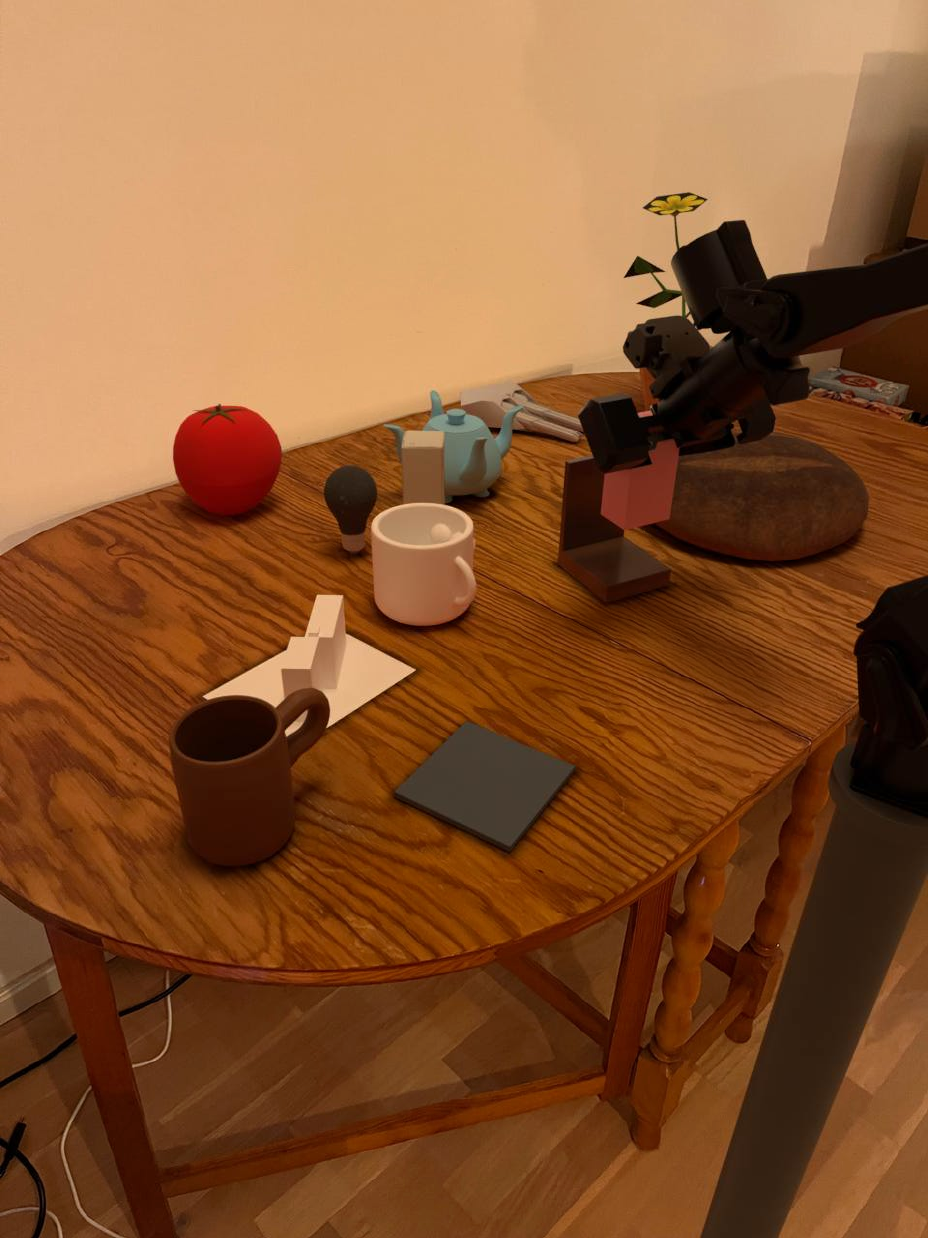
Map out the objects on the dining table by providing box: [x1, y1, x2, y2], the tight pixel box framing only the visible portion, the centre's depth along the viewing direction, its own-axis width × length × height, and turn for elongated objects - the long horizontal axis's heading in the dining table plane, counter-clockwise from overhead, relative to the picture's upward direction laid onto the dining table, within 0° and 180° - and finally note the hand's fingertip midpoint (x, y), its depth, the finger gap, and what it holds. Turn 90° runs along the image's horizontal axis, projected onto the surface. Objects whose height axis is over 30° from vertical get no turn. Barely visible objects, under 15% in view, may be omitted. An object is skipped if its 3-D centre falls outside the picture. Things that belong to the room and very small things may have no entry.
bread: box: [654, 428, 870, 562], centre depth 108 cm, size 28×27×9 cm
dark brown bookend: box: [557, 454, 672, 604], centre depth 93 cm, size 9×8×12 cm
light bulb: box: [323, 464, 378, 555], centre depth 98 cm, size 6×6×10 cm
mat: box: [393, 720, 576, 853], centre depth 69 cm, size 10×10×1 cm
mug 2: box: [370, 503, 477, 627], centre depth 88 cm, size 12×10×9 cm
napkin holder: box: [202, 594, 416, 737], centre depth 78 cm, size 15×11×6 cm
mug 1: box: [168, 687, 330, 868], centre depth 64 cm, size 12×8×9 cm, turn 135°
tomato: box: [172, 403, 283, 516], centre depth 106 cm, size 12×12×13 cm
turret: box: [459, 380, 584, 443], centre depth 132 cm, size 10×20×5 cm, turn 64°
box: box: [401, 429, 446, 505], centre depth 98 cm, size 5×4×13 cm
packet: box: [601, 411, 680, 531], centre depth 88 cm, size 4×6×10 cm
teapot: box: [382, 389, 524, 504], centre depth 112 cm, size 13×13×10 cm
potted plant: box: [623, 191, 714, 412], centre depth 128 cm, size 18×19×30 cm
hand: (632, 459), depth 89 cm, fingers closed on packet, 5 cm apart
